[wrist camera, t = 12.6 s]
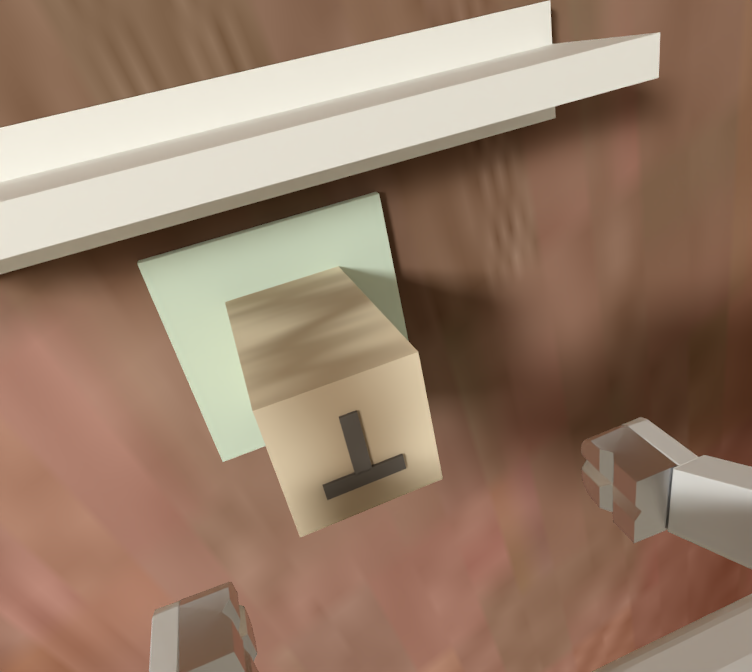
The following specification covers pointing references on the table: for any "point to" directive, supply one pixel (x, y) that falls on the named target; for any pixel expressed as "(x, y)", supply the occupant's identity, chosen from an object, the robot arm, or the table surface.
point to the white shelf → (291, 127)
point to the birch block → (334, 397)
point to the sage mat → (252, 274)
